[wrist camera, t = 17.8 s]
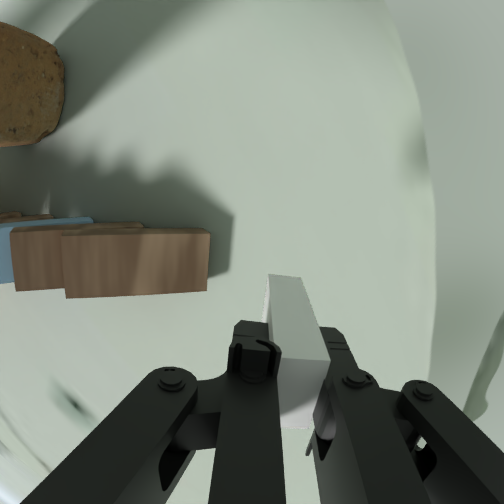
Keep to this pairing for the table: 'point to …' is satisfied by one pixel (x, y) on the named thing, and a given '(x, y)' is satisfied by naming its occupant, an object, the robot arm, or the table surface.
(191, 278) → the domino
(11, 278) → the domino
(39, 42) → the bread loaf
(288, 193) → the table surface
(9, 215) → the domino
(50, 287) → the domino
